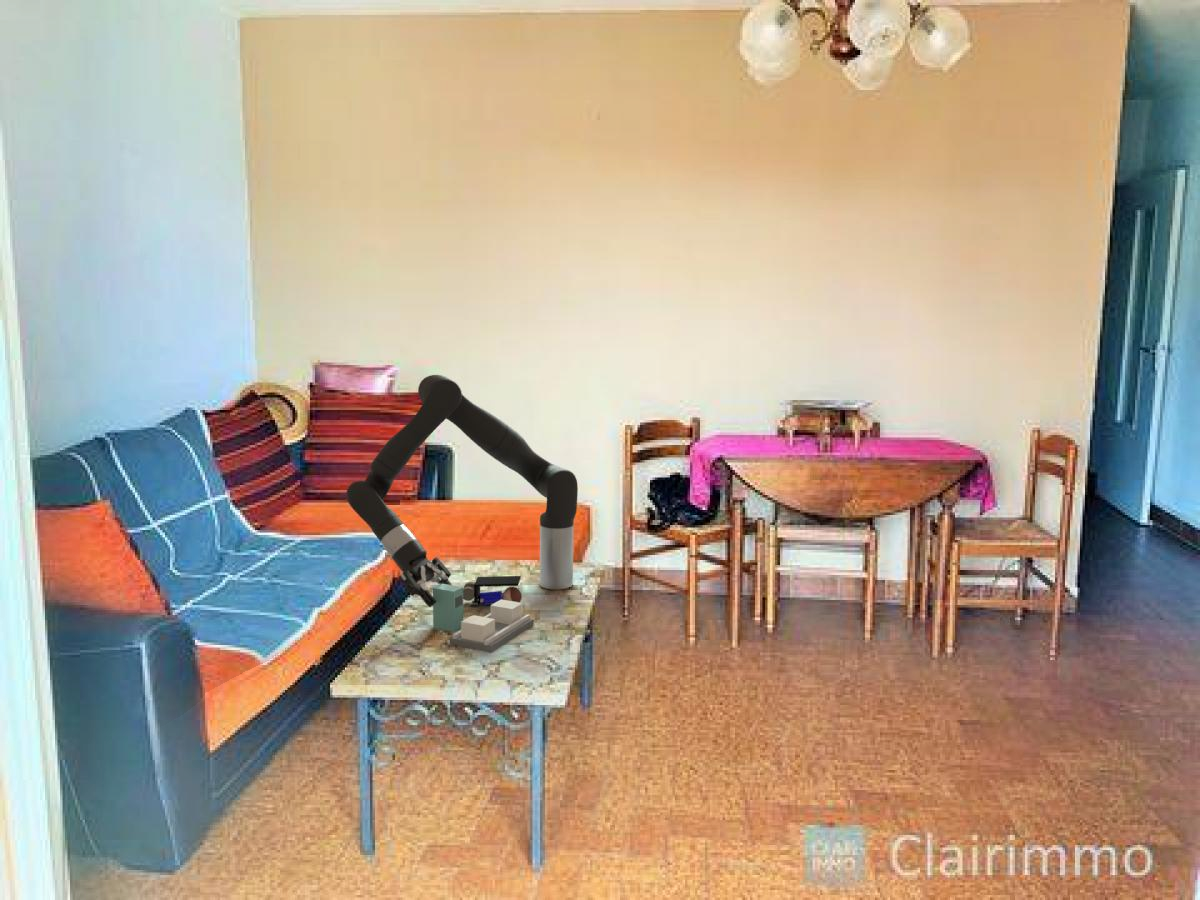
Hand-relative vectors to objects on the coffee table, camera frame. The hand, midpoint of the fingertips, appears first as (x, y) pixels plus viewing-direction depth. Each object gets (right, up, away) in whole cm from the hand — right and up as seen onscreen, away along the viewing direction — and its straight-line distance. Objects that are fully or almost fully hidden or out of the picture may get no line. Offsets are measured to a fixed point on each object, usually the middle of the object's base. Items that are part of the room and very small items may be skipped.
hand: (443, 599), depth 229 cm
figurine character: (+10, -4, +17) cm, 20 cm away
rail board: (+12, -8, -4) cm, 15 cm away
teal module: (+1, -7, +1) cm, 7 cm away
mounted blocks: (+12, -6, -4) cm, 14 cm away
